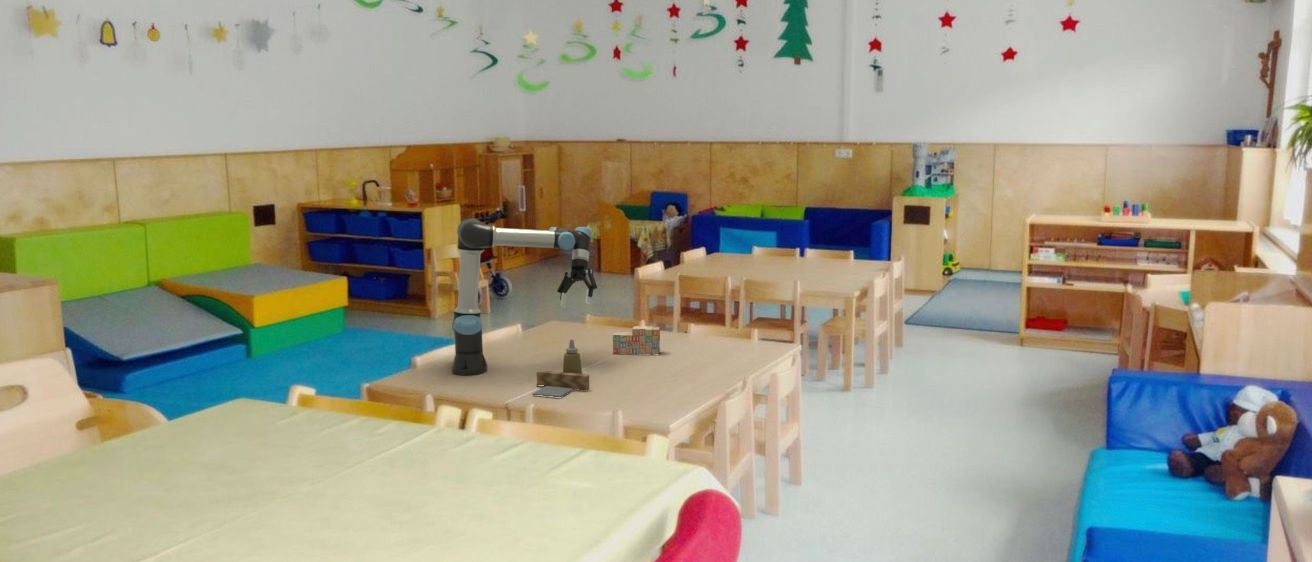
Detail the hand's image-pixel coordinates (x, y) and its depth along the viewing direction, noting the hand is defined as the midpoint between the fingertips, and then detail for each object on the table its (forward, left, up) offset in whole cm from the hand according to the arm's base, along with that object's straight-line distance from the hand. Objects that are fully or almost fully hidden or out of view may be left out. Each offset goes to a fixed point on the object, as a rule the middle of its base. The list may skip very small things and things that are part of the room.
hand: (575, 305), depth 429 cm
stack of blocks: (+33, +2, -27) cm, 43 cm away
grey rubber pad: (-31, -36, -26) cm, 54 cm away
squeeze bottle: (-16, -25, -27) cm, 40 cm away
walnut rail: (-24, -31, -26) cm, 47 cm away
